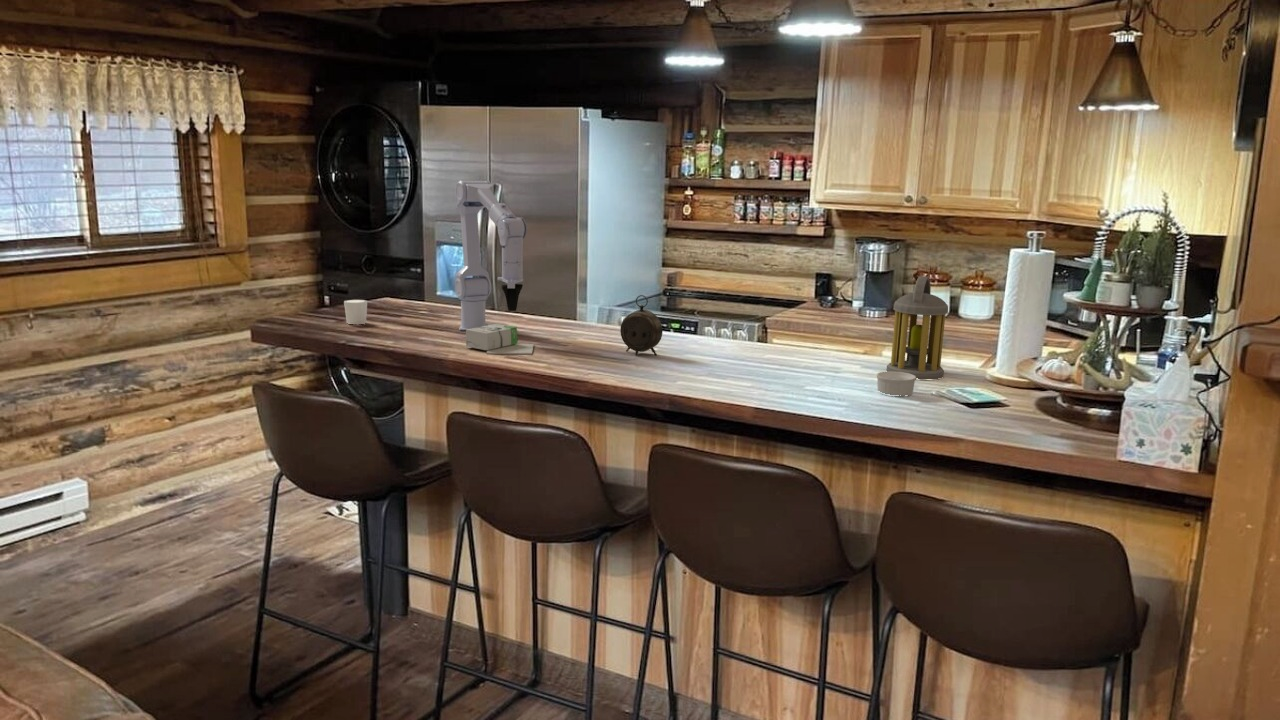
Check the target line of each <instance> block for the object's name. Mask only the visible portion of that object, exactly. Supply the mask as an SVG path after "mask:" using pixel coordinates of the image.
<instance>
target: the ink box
mask: <svg viewBox="0 0 1280 720" xmlns="http://www.w3.org/2000/svg"><path fill="white" fill-rule="evenodd" d="M513 344H518V328H517V327H516V326H511V325H503V324H497V323H494V324H488V326H483V327H478V328H472V329H467V330H465V346H466V347H467V348H472V349H478V350H482V351H487V350H491V349H495V348H500V347H504V346H509V345H513Z"/></svg>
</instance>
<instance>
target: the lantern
mask: <svg viewBox="0 0 1280 720" xmlns="http://www.w3.org/2000/svg"><path fill="white" fill-rule="evenodd" d="M931 289H932V288H931V279H930V277H928V276H923V275H922V276H921V275H920V276H918V278H917V280H916V282H915V285H914V290H913V292H911V293H907V294H904V295H902V296H901V297H899V298H897V300H895V301H894V303H893V310H894V321H893V322H894V323H893V334H892V343H891V345H892V347H891V358H890V359H891V360H890V362H889V363H888V364H887V366H886V371H887V372H890V371H892V372H904V373H909V374H912V375H914V376H916V378H918V379H937V380H939V379H938V378H941V379H943V378H944V373H945V370H944V368H943V367H942V366H941V365H942V364H941V363H942V356H943V355H942V352H943V344H944V342H943V341H944V333H945V323H946V315H947V314H949V305H948V304H947V303H946V302H945V301H944V300H943V299H942V298H940V297H939V296H937V295H935V294H931V292H932V291H931ZM918 315H919V316H922V320H921V321H922V324H920V323H919V324H918ZM909 316H910V317H909ZM908 328H909V329H908ZM907 338H908V339H907ZM907 340H908V341H907ZM886 371H885V372H886ZM942 377H943V378H942Z"/></svg>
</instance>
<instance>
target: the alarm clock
mask: <svg viewBox="0 0 1280 720" xmlns="http://www.w3.org/2000/svg"><path fill="white" fill-rule="evenodd" d="M640 297H643V298H645V300H646V303H645V305H643V304H641V305H639V303H638V299H639V298H640ZM648 302H649V301H648V298H647V296H645V295H643V294H640V295H638V296H636V298H635V304H636V306H637V307H639V309H638V310H637V309H636V310H635V311H633V312H631V313H629V314H627V315H626V316H625V317H624V318H623V320H622V321H621V324H620V337H621V339H622V341H623V343H624V345H625V346H626V347H627V348H626V350H625V352H626V353H627V352H629V350H632V351H635V356H638V355H639V352H641V353H643V352H647V351H649V350H651V352H652V353H653V355H654V356H657V352H656V350H655V347H657V345H659V343H660V341H661V339H662V336H663V325H662V322H661V320H660V318H659V317H658V316H657V315H656V314H655V313H654V312H652V311H650V310H647V309H644V308H645V307H646V306H647V305H648Z"/></svg>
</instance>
